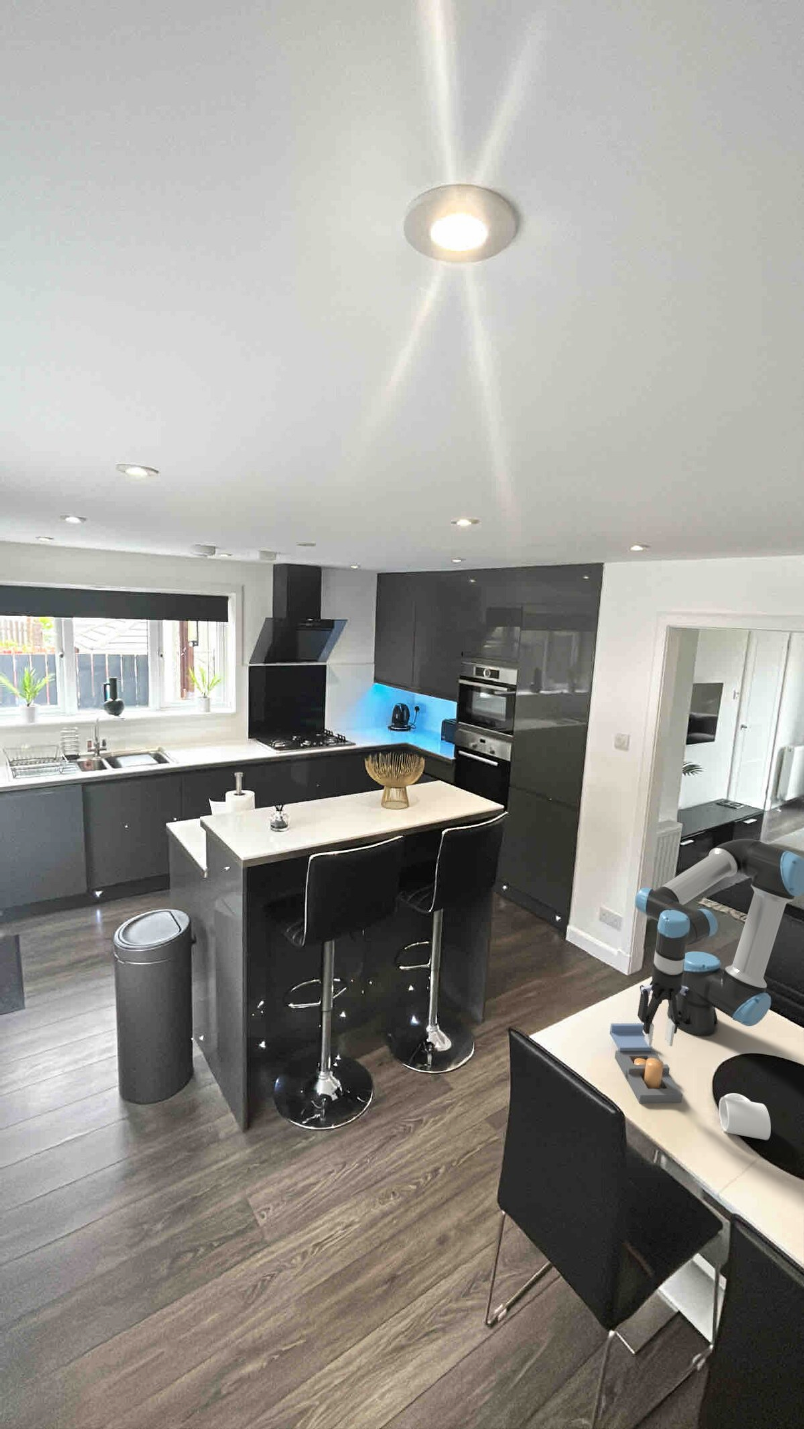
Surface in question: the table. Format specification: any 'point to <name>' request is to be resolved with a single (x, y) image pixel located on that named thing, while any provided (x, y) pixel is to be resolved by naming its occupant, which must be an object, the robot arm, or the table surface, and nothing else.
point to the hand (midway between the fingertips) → (658, 1042)
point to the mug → (744, 1117)
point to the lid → (629, 1037)
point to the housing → (636, 1078)
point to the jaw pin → (653, 1073)
